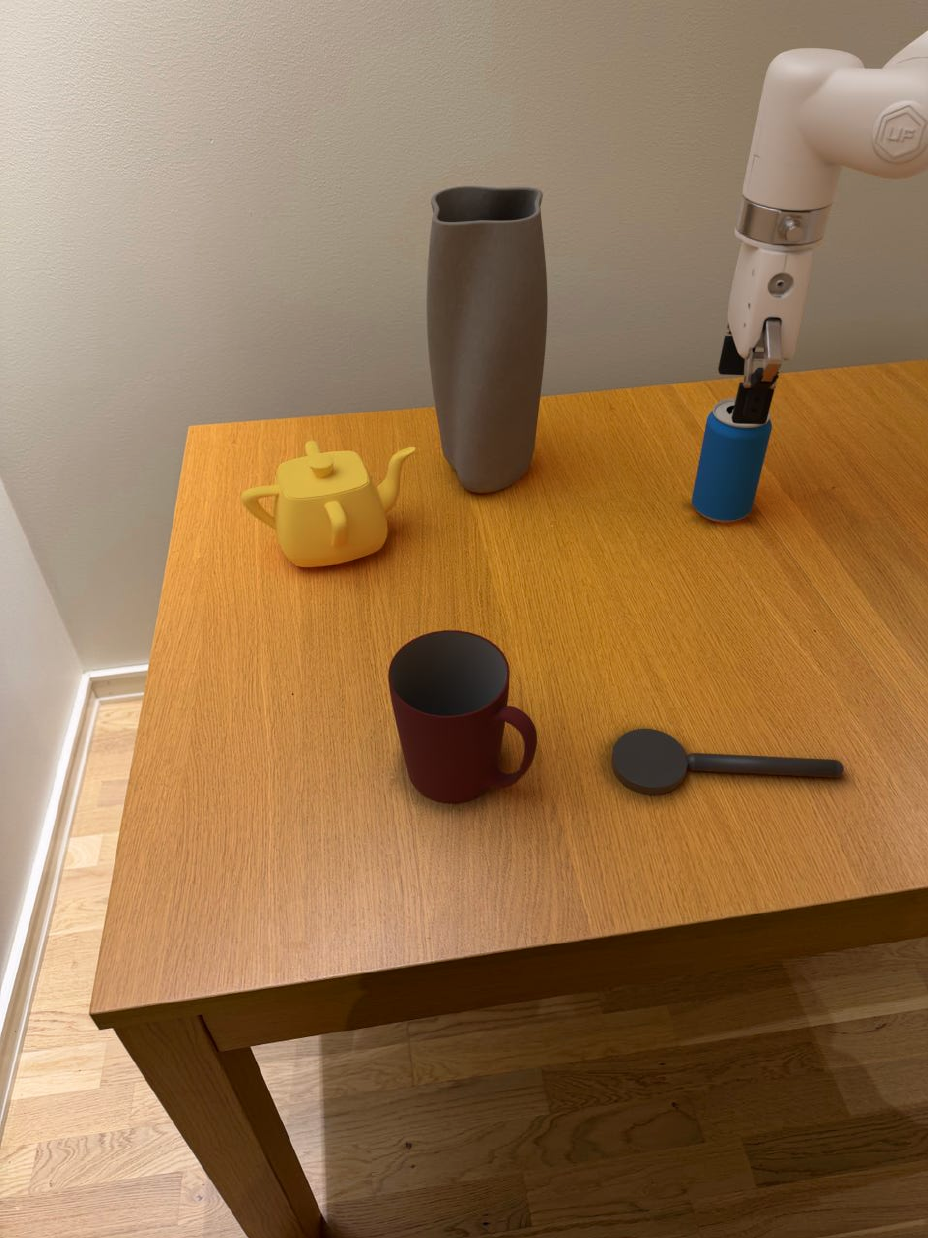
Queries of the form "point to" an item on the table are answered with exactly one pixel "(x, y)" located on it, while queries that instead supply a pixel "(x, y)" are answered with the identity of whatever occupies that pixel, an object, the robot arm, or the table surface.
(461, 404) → the vase
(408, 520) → the table surface
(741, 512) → the beverage can
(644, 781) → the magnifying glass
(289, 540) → the teapot
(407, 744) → the mug
